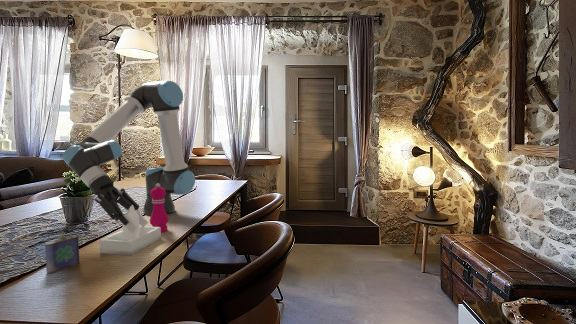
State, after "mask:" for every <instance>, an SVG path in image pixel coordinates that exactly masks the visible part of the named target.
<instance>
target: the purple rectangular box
mask: <svg viewBox="0 0 576 324" xmlns="http://www.w3.org/2000/svg"><path fill="white" fill-rule="evenodd" d="M79 247H80V245H79V236H78V235H67V236H65V235H64V233H62V232H60V233H58V236H57V239H55V240H52V241H48V242H46V243H45V244H44V250H45V262H46V263H45V264H46V266H45V267H46V273H47V274H49V275H51V274H53V273H57V272H60V271H63V270H66V269H68V268H72V267H74V266H77V265H79V264H80V249H79Z"/></svg>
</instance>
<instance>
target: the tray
mask: <svg viewBox="0 0 576 324" xmlns="http://www.w3.org/2000/svg"><path fill="white" fill-rule="evenodd" d="M139 229H140V230H139V237H137V238H135V239H133V240H125V239H123V229H122V230H119V231H118V232H115V233H112V234H110V235H108V236H106V237H104V238H101V239H100V240H99V253H100V254H109V255H110V254H111V255H123V256H133V255H135V254H136V253H138V252H140V251H142V250H143V249H145V248H148V246H150V244H151V245H152V244H154V243H155V242H157V241H160V240H161V239H162V233H161V227H153V226H147V225H146V226H145V227H142V226H141V225H139Z"/></svg>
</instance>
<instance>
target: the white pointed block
mask: <svg viewBox="0 0 576 324" xmlns="http://www.w3.org/2000/svg"><path fill="white" fill-rule="evenodd" d="M125 214H126V215H127V216H128V217H129V218H130V219H131V220H132V221H133V223H134V224H135V225H136V226H137V227H138V228H137V229H136V230H135V231H134V232H133V233H131V231H130V230H129V229H128V228H127V227H126V226H125V225H123V224H122V230H123V239H125V240H133V239H135V238H137V237H139V230H140V229H139V226H140V224H139V216H138V214H137V212H136V211H135V209H134V206H133V205H131V207H130V208H129V210H126V213H125Z"/></svg>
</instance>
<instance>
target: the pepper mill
mask: <svg viewBox="0 0 576 324" xmlns="http://www.w3.org/2000/svg"><path fill="white" fill-rule="evenodd" d="M150 195H151V197H152V198H153V199H152V203H153V212H152V215H150V218H149V224H150V225H151V227H161V234H162V233H165V232H167V231H168V225H167V224H168V223H169V215H168V214H166V212H165V209H164V202H165V199H164V197H165V195H166V191H165V189H164V188H162V187H160V184H159V183H157V184H156V187H155V188H153V189H152V190H151V192H150Z"/></svg>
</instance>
